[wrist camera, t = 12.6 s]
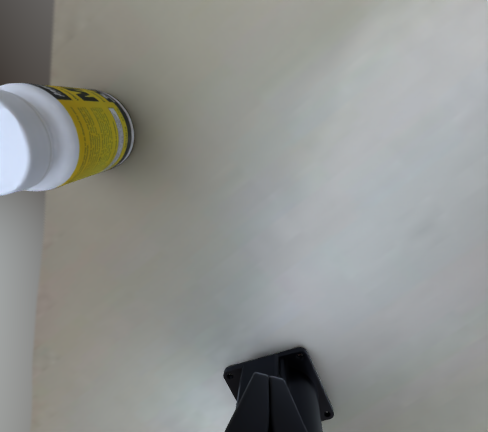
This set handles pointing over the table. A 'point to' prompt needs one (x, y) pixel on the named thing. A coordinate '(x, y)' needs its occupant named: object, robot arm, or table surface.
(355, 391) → the table surface
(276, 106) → the table surface
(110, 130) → the supplement bottle
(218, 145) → the table surface
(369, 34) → the table surface
